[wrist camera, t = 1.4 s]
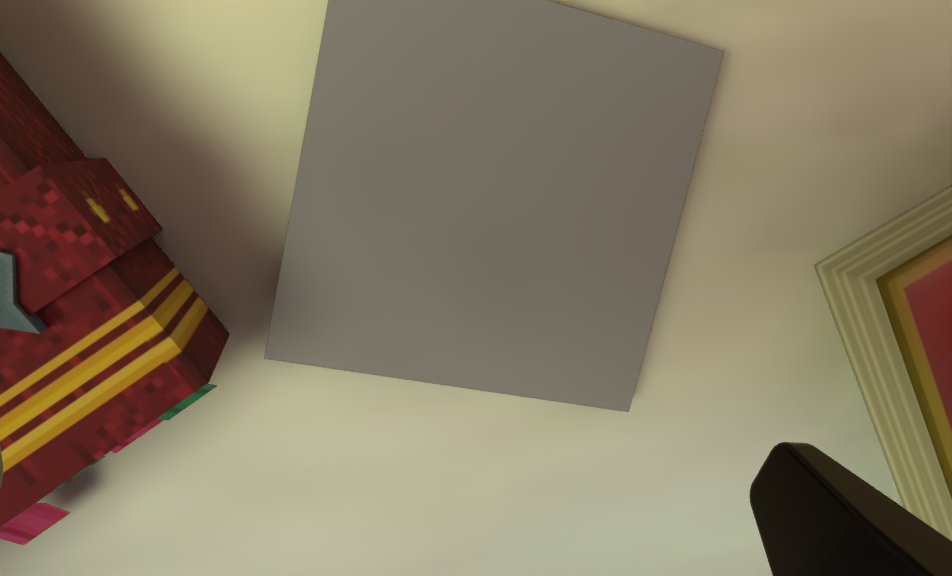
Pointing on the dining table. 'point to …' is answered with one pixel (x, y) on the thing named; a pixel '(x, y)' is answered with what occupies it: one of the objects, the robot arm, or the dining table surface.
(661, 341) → the dining table surface
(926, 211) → the hardcover book
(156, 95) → the dining table surface
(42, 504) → the decorative book
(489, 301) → the plate
